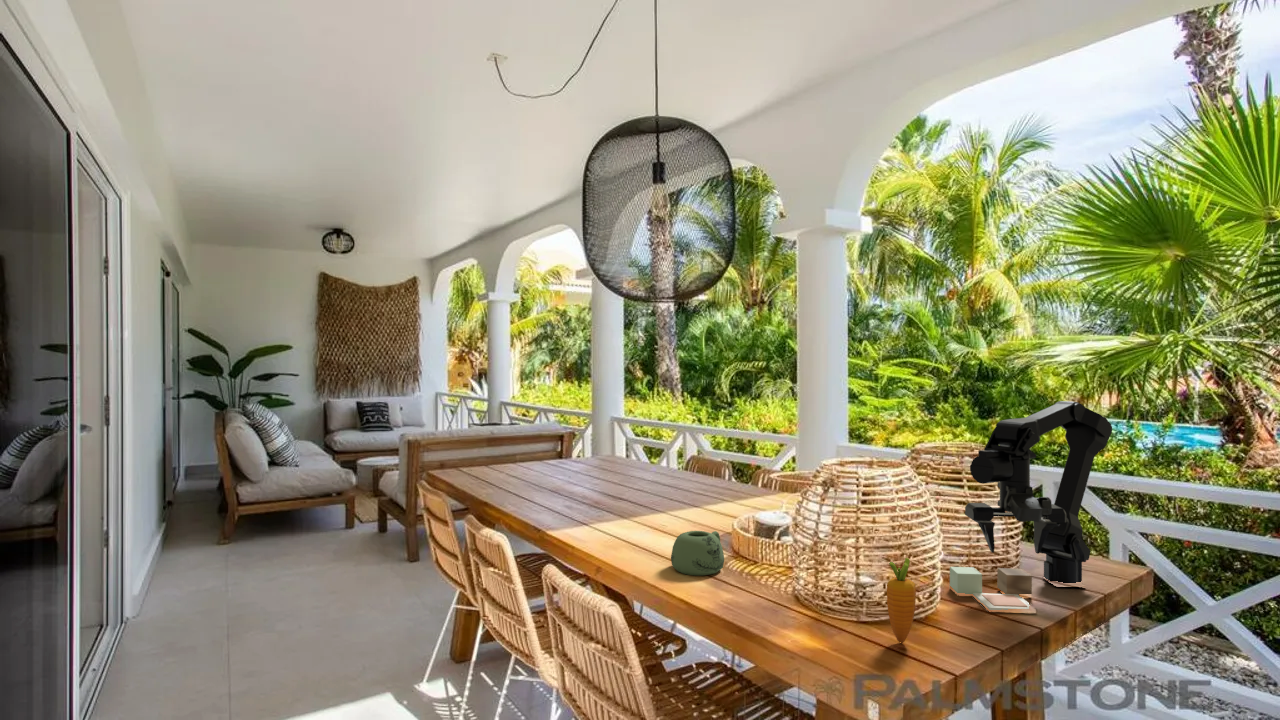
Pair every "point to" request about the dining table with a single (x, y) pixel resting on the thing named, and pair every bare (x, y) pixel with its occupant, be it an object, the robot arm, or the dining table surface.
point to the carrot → (901, 601)
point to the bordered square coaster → (1002, 601)
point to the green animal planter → (697, 553)
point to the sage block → (965, 580)
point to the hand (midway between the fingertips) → (1014, 552)
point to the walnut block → (1014, 581)
